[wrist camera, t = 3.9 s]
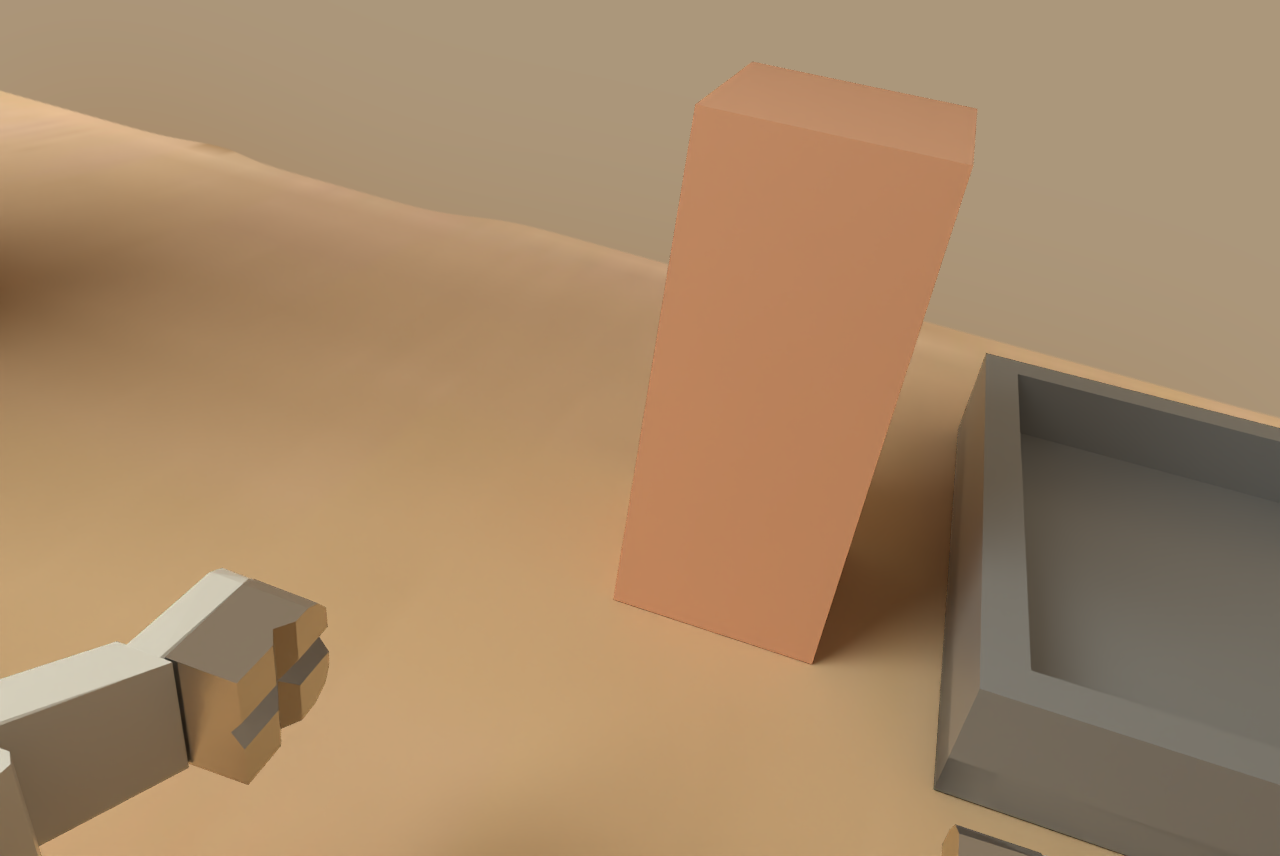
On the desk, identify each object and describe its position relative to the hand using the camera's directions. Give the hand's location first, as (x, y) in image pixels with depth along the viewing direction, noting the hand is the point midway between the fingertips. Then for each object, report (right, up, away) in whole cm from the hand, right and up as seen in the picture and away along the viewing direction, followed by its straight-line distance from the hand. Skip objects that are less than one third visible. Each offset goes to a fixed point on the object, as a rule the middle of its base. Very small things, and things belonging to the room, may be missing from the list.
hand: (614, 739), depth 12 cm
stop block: (+3, 0, +13) cm, 14 cm away
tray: (+15, -2, +14) cm, 20 cm away
